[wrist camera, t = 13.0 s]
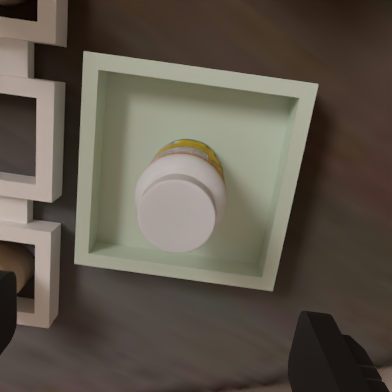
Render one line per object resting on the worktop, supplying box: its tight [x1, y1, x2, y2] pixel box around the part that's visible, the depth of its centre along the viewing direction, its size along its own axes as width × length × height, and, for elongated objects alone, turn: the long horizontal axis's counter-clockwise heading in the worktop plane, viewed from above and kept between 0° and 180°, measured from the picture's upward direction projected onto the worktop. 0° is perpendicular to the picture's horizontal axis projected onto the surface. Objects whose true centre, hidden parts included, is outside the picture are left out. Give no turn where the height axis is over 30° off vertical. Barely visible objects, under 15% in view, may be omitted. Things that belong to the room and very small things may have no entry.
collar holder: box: [0, 0, 68, 328], centre depth 27 cm, size 31×9×2 cm, turn 172°
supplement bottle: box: [135, 138, 227, 254], centre depth 23 cm, size 5×5×10 cm
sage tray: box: [74, 51, 318, 291], centre depth 27 cm, size 15×15×3 cm
